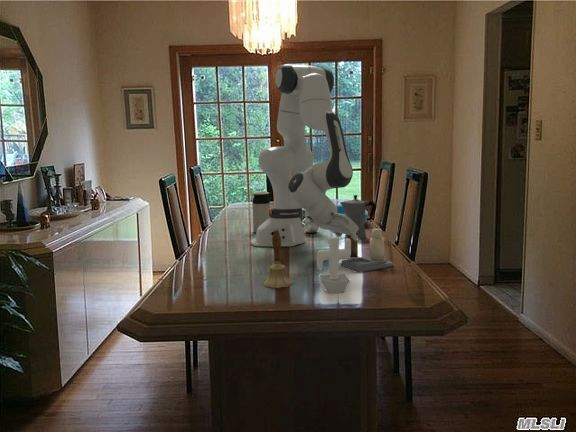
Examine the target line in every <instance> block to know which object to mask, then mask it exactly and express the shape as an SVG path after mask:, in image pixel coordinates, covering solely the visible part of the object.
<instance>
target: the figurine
mask: <svg viewBox="0 0 576 432" xmlns="http://www.w3.org/2000/svg"><path fill="white" fill-rule="evenodd" d="M339 238H340V237H338V236H332V237H328V240H327V241H328V247H329V248H328V249H319V250H317V252H316V269H317V270H319V271H322V270H323V268H324V267H323V266H324V261H328V260H329V262H328V263H329V264H328V265H329V266H328V267H329V272H328V274H319V275H318V277H319V278H320V281H321V283H322V286H323V288H324V290H325V289H326V290H325V291H326V293H327V294H342V293H344V292H345V291H346V289H347V287H348V285H349V284H350V281H351V280H350V279H349V278H348V276H347V275H346V274H345V273H339V266H340V265H339V260H347V259H351V258H350V256H351V240H350V239H348V238H347V239H345V238H344V248H339V245H340V239H339Z"/></svg>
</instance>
